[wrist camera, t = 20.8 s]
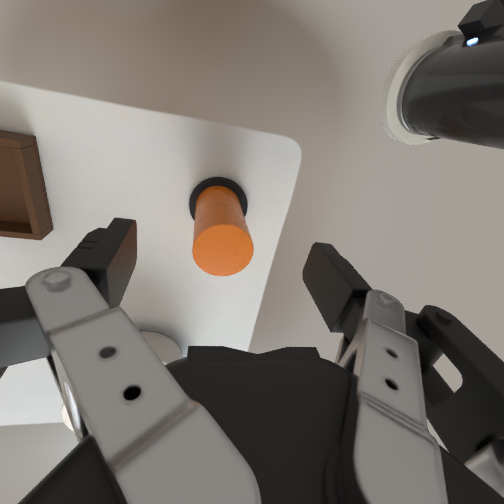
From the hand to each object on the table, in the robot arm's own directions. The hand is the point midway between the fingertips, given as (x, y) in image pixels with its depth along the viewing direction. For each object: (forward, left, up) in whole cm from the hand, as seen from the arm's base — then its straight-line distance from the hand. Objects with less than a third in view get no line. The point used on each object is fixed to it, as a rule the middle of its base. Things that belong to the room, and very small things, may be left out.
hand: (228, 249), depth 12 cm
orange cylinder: (+6, +4, -24) cm, 25 cm away
